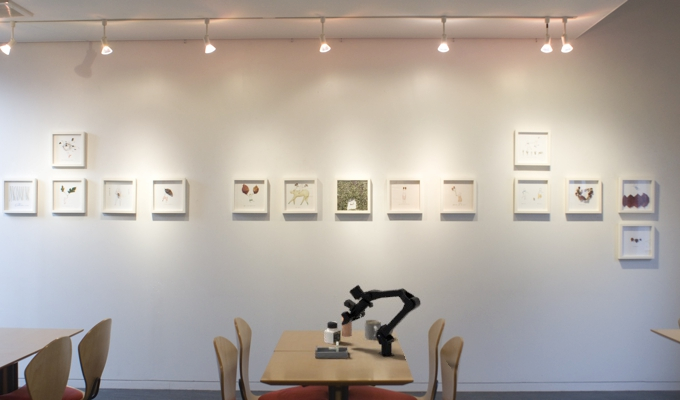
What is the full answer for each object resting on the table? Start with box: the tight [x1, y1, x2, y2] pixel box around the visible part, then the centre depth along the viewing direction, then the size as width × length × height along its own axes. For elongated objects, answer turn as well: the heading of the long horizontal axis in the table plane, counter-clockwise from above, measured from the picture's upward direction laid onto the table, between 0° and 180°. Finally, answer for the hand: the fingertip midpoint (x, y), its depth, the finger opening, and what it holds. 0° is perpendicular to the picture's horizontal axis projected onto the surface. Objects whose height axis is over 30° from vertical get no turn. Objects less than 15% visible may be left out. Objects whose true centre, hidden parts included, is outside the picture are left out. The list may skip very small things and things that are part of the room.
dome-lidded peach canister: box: [341, 311, 353, 338], centre depth 270 cm, size 6×6×13 cm
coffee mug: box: [364, 319, 382, 341], centre depth 289 cm, size 13×10×10 cm
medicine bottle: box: [323, 320, 342, 345], centre depth 281 cm, size 7×7×12 cm
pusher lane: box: [314, 345, 349, 359], centre depth 255 cm, size 18×10×4 cm, turn 92°
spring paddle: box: [328, 342, 340, 352], centre depth 256 cm, size 5×7×6 cm
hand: (344, 323), depth 271 cm, fingers closed on dome-lidded peach canister, 6 cm apart
